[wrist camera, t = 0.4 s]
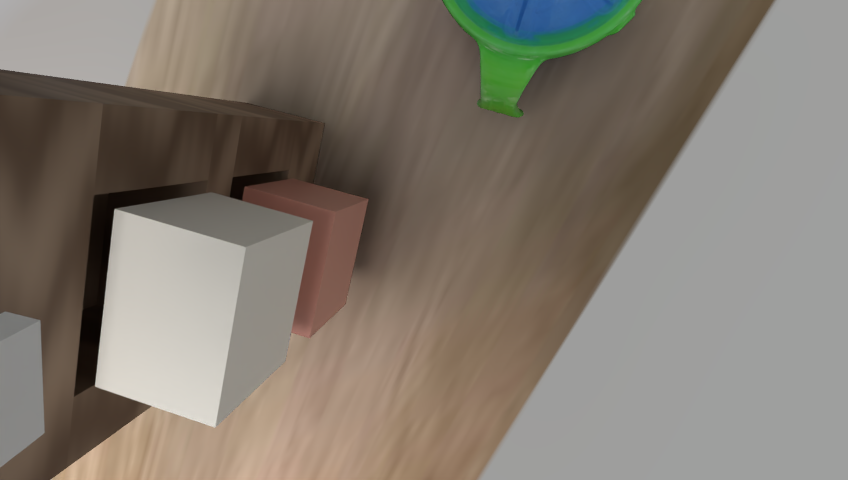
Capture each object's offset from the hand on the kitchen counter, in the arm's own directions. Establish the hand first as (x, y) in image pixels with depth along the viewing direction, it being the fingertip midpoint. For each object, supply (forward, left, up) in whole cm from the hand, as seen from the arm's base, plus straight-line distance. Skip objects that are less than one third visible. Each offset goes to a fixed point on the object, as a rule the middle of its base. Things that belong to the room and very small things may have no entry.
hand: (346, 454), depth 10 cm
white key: (+2, -9, -13) cm, 16 cm away
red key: (+2, -9, -22) cm, 24 cm away
